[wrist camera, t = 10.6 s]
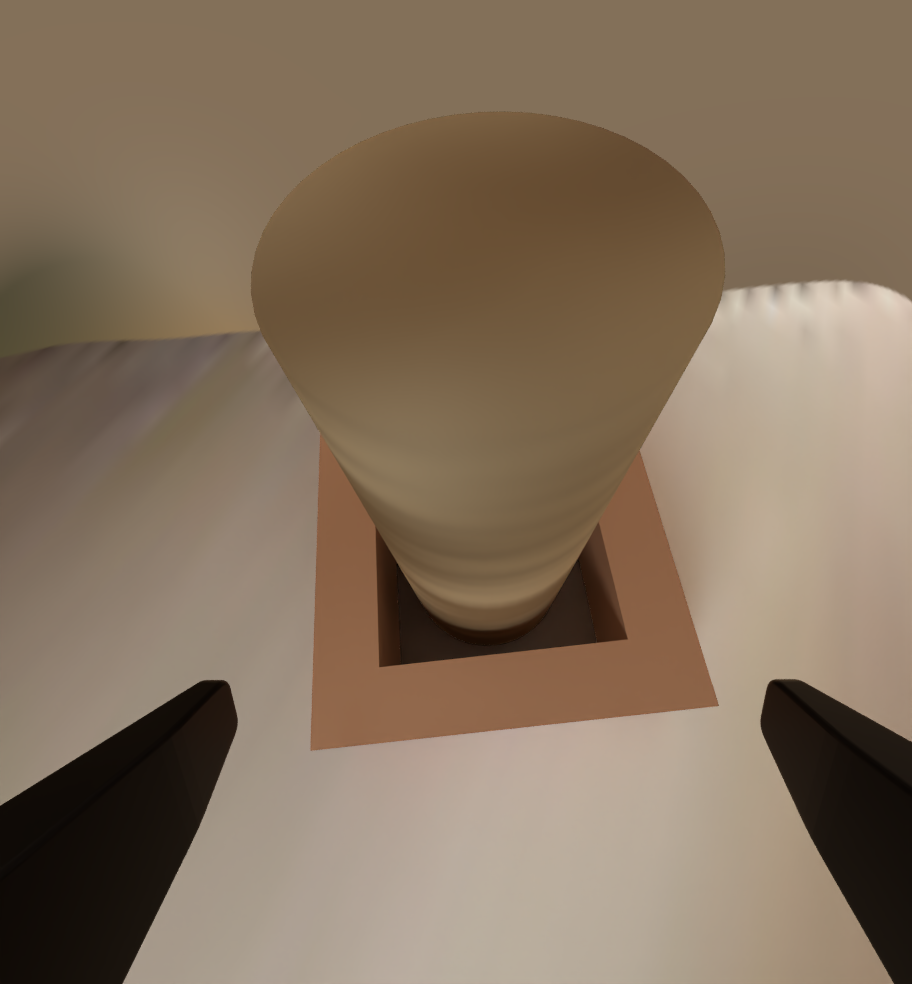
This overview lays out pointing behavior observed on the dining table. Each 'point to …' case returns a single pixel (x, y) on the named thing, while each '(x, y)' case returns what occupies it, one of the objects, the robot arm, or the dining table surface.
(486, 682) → the socket
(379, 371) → the peg
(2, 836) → the robot arm
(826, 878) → the dining table surface
